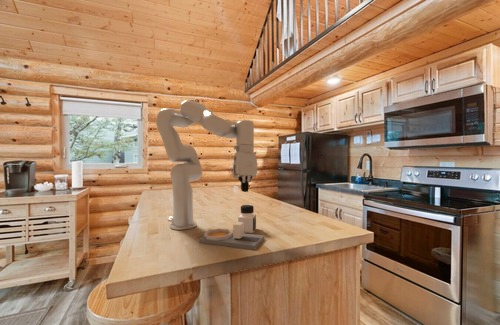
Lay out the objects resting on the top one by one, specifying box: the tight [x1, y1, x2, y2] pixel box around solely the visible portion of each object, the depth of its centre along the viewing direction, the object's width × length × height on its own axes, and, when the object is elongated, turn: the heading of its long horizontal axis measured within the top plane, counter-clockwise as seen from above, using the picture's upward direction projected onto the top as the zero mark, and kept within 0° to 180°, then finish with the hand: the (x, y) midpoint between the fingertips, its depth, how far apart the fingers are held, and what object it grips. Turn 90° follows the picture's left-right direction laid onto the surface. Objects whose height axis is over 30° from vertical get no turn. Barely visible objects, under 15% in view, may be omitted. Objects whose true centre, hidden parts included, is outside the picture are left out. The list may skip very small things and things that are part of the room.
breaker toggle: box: [232, 221, 245, 239], centre depth 97 cm, size 3×4×6 cm
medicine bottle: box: [237, 204, 257, 234], centre depth 111 cm, size 7×7×12 cm
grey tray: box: [198, 228, 265, 251], centre depth 98 cm, size 24×12×3 cm, turn 70°
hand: (244, 191), depth 103 cm, fingers closed
